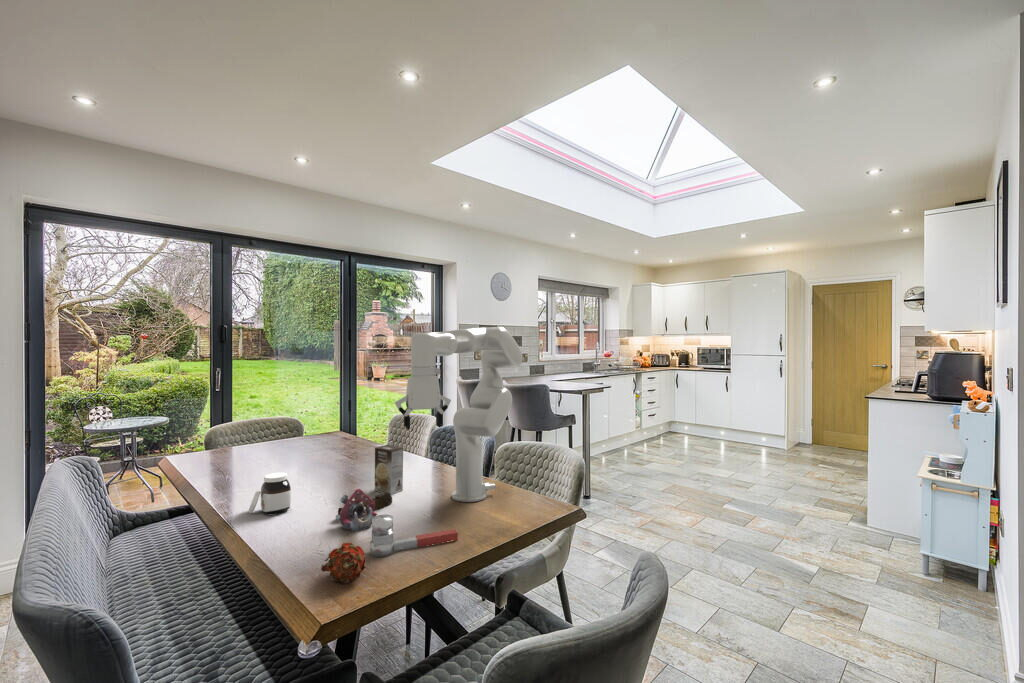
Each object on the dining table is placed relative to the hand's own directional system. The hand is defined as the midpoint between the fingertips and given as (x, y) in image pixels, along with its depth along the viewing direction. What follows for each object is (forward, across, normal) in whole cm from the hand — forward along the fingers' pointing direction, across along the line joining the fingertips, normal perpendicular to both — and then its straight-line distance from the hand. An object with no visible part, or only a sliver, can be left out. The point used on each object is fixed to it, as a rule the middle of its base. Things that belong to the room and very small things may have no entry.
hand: (423, 427), depth 140 cm
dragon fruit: (+29, +25, +28) cm, 47 cm away
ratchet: (+28, +6, +18) cm, 34 cm away
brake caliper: (+29, +19, -4) cm, 35 cm away
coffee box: (+28, +5, -33) cm, 44 cm away
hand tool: (+29, +15, -14) cm, 36 cm away
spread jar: (+29, +44, -27) cm, 59 cm away
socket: (+26, +15, +18) cm, 35 cm away
